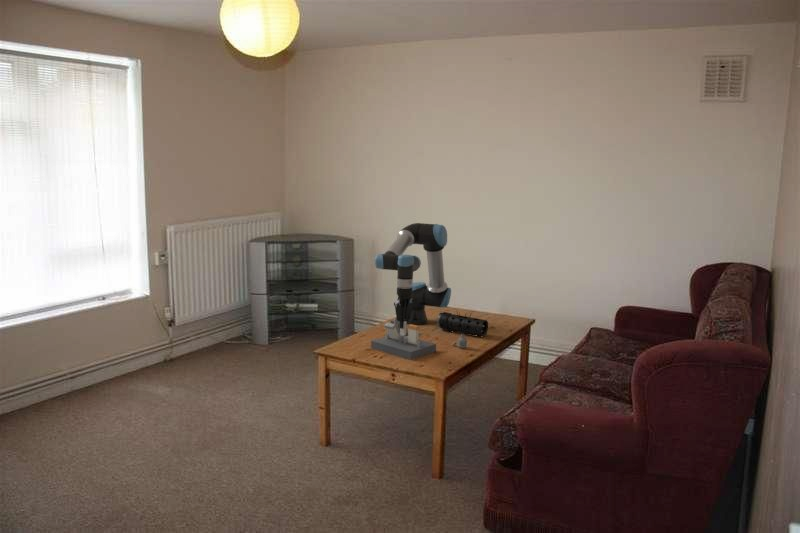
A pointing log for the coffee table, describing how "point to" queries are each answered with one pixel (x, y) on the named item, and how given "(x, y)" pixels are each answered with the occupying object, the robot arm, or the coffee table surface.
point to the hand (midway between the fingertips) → (402, 334)
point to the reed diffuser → (462, 340)
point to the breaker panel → (403, 347)
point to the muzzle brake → (462, 324)
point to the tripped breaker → (413, 334)
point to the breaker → (392, 331)
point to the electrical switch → (398, 325)
